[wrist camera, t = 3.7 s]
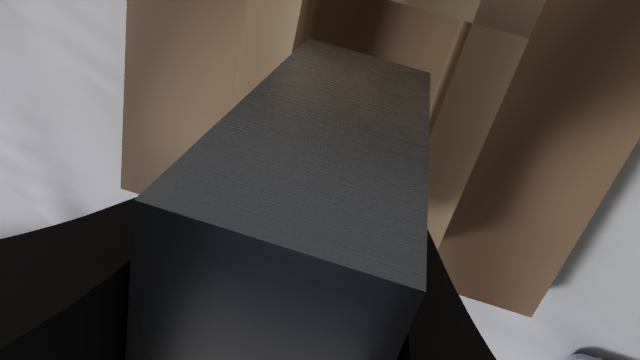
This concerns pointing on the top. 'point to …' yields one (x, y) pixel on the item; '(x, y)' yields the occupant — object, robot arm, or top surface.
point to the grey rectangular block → (291, 220)
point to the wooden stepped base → (445, 109)
